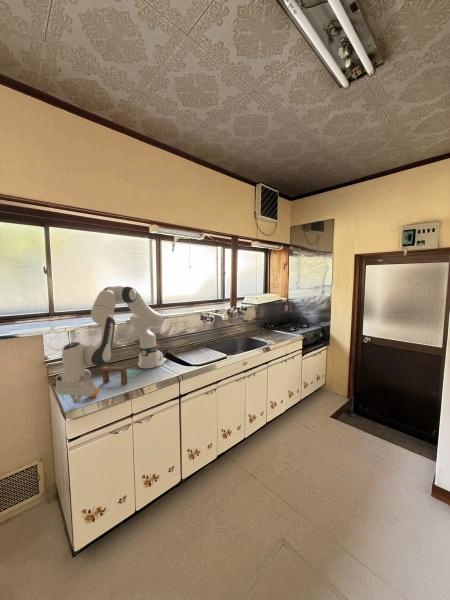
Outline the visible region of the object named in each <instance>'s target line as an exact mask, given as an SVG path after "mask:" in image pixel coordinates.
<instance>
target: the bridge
mask: <svg viewBox="0 0 450 600" xmlns="http://www.w3.org/2000/svg"><path fill="white" fill-rule="evenodd" d="M127 370H128V369H127V367H124V366H107V365H105V366H102V367H101V373H102V375H101V376H102V384H108V383H110V374H109V371H112V372H113V371H114V372H120V374H121V377H120V384H121V385H122V386H125V385H127V384H128V378H127Z"/></svg>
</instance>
